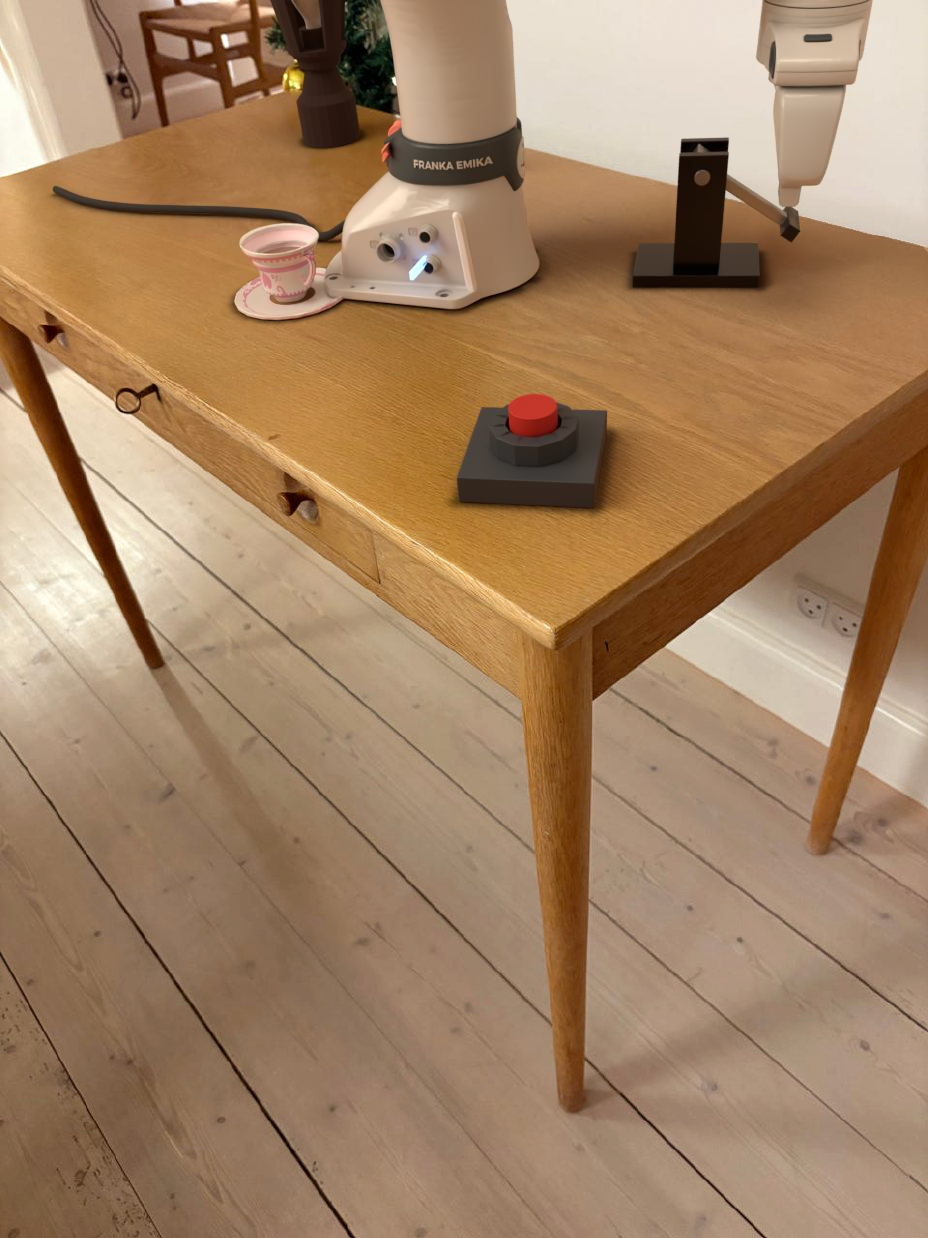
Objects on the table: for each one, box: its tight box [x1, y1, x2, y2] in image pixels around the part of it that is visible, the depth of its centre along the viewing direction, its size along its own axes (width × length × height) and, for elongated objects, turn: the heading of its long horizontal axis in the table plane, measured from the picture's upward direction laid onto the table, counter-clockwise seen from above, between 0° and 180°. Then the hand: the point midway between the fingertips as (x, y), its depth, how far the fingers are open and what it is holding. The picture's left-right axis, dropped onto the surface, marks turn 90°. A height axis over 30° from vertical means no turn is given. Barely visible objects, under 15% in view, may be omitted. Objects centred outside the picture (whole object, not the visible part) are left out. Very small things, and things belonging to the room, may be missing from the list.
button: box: [508, 393, 558, 437], centre depth 74 cm, size 4×4×2 cm
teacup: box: [233, 222, 344, 321], centre depth 103 cm, size 12×12×6 cm
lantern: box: [269, 0, 361, 149], centre depth 134 cm, size 15×15×30 cm
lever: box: [693, 144, 801, 243], centre depth 95 cm, size 12×5×2 cm
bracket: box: [631, 137, 761, 289], centre depth 97 cm, size 12×8×12 cm, turn 79°
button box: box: [456, 401, 608, 509], centre depth 76 cm, size 10×10×4 cm
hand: (787, 201), depth 95 cm, fingers closed
